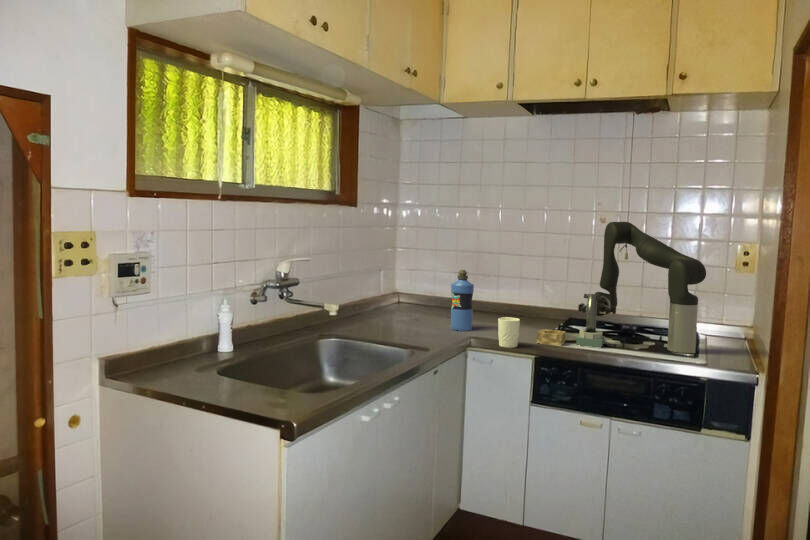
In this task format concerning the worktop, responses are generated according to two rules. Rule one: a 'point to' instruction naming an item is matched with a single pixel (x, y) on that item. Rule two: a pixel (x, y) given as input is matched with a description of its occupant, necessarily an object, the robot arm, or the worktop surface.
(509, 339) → the white cup
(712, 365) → the worktop surface
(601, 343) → the chuck block
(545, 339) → the tan flat block
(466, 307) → the water bottle
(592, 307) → the chuck key
